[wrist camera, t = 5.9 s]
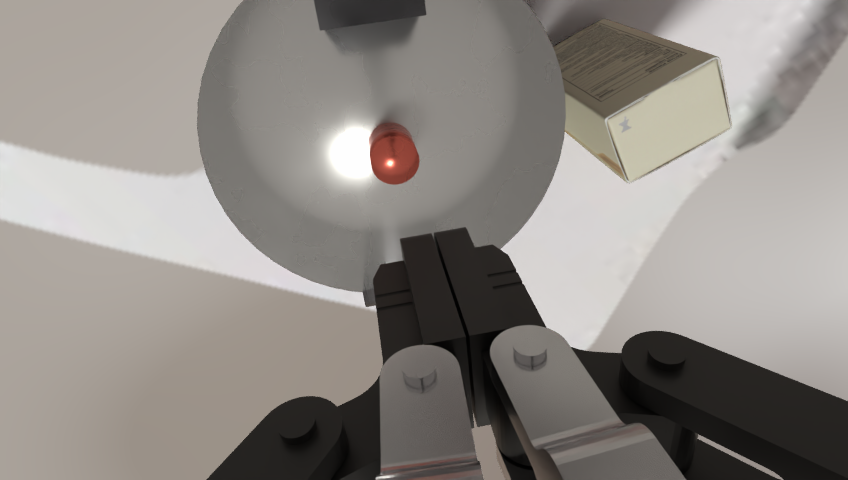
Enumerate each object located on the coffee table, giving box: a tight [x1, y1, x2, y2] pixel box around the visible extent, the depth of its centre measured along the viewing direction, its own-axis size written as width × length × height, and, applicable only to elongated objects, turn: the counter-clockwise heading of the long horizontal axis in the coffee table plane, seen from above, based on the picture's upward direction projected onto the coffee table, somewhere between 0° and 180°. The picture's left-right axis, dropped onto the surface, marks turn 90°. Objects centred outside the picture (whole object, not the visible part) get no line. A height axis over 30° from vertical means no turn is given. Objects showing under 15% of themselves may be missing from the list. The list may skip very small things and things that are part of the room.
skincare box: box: [553, 19, 732, 183], centre depth 33 cm, size 6×4×12 cm
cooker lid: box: [197, 0, 566, 307], centre depth 24 cm, size 17×16×3 cm
